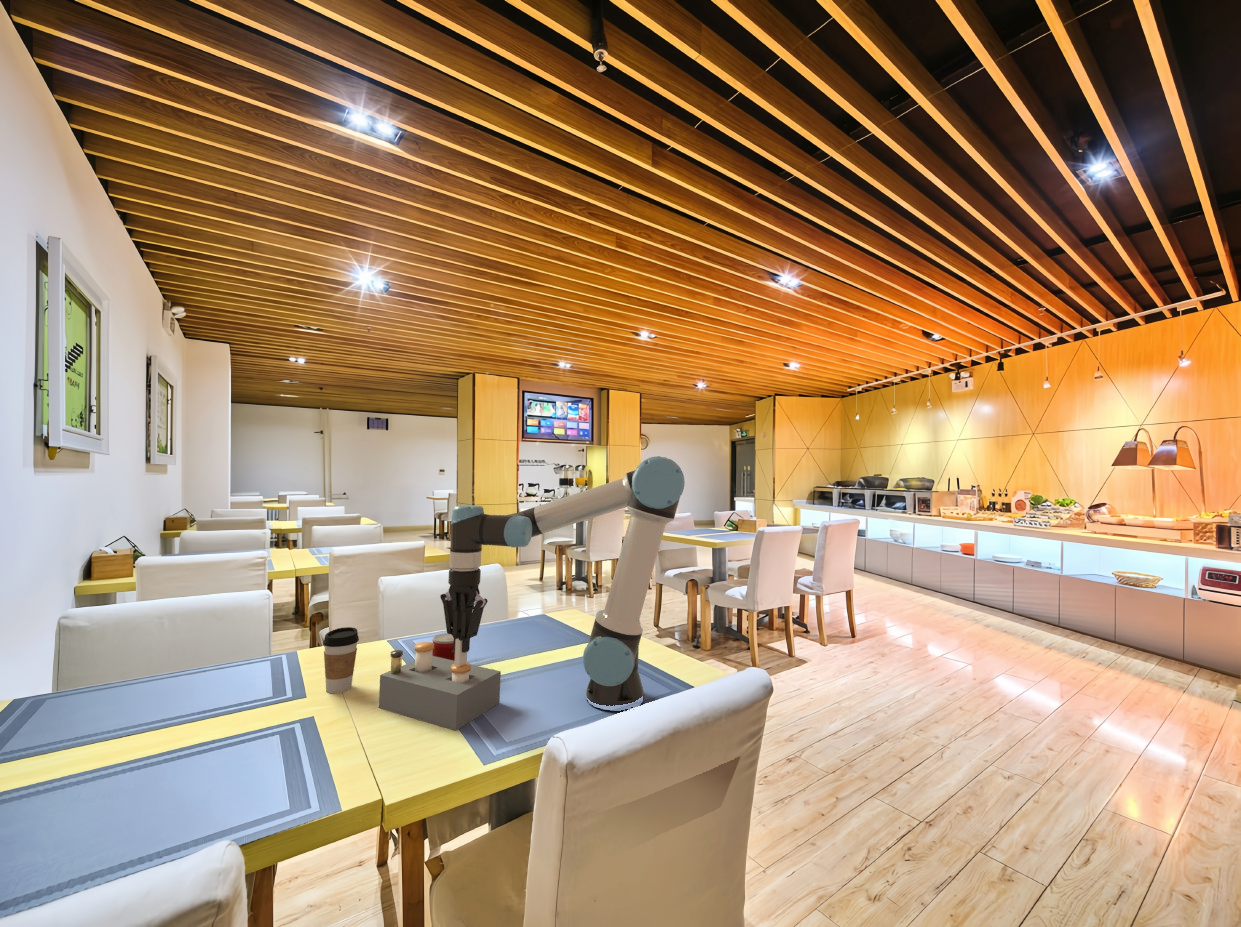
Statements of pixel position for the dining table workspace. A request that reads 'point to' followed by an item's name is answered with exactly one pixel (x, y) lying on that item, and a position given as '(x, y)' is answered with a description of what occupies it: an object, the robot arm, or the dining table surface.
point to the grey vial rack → (440, 693)
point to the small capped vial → (396, 661)
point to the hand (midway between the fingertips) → (460, 664)
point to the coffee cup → (340, 658)
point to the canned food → (443, 646)
